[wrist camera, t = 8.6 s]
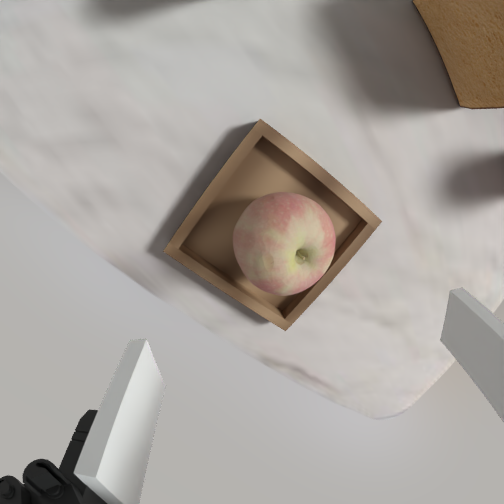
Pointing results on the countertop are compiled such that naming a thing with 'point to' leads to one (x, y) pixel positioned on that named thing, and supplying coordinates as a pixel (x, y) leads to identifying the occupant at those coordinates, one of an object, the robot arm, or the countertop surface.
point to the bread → (470, 47)
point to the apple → (284, 243)
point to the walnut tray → (241, 196)
